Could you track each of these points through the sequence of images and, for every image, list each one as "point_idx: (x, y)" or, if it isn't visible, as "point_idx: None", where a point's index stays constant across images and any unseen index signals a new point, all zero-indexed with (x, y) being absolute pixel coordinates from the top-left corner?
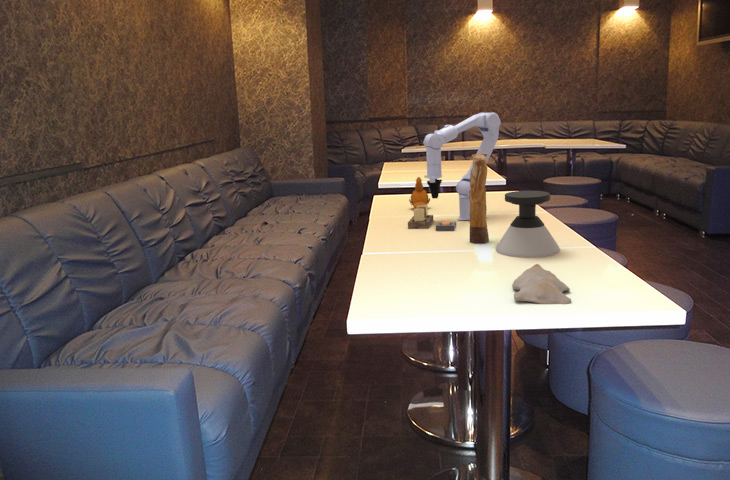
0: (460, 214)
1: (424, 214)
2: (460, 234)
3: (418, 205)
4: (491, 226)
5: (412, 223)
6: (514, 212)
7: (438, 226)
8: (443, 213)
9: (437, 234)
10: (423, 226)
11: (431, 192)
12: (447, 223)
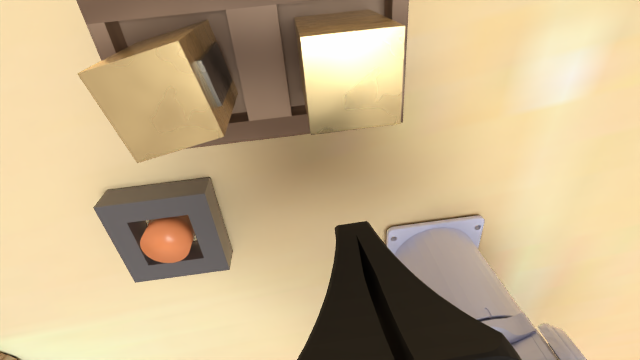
0: (420, 249)
1: (304, 94)
2: (82, 297)
3: (380, 40)
4: (269, 345)
5: (95, 38)
6: None
7: (102, 218)
8: (621, 108)
9: (28, 217)
10: None
11: (334, 269)
12: (149, 256)
